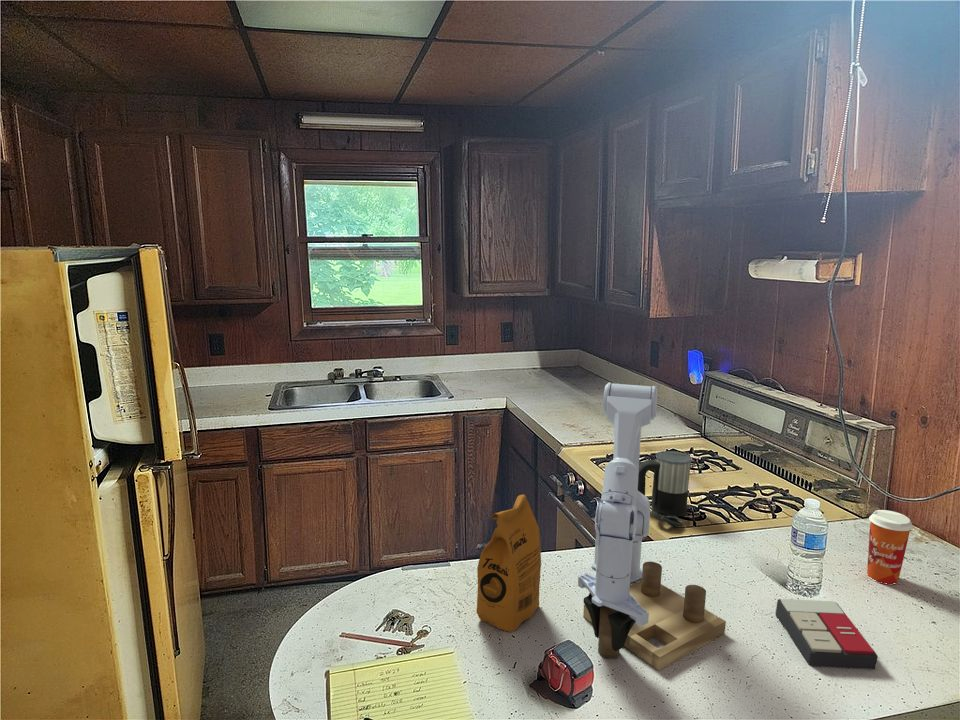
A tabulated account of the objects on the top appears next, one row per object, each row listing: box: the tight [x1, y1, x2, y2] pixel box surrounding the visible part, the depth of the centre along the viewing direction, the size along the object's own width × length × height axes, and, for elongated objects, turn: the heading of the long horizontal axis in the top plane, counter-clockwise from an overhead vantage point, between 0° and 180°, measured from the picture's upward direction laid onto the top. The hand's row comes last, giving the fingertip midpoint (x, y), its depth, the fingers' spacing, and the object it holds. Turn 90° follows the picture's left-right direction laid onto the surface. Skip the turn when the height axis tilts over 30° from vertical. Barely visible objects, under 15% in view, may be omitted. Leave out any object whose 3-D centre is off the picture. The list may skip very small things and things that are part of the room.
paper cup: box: [866, 509, 914, 584], centre depth 133 cm, size 8×8×14 cm
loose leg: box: [597, 605, 620, 660], centre depth 109 cm, size 4×4×8 cm
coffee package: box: [475, 494, 542, 633], centre depth 119 cm, size 10×12×22 cm
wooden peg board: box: [582, 561, 727, 671], centre depth 117 cm, size 18×18×8 cm
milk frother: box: [638, 450, 693, 528], centre depth 162 cm, size 14×16×15 cm
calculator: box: [775, 598, 878, 670], centre depth 114 cm, size 11×4×15 cm
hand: (609, 641), depth 109 cm, fingers closed on loose leg, 4 cm apart
